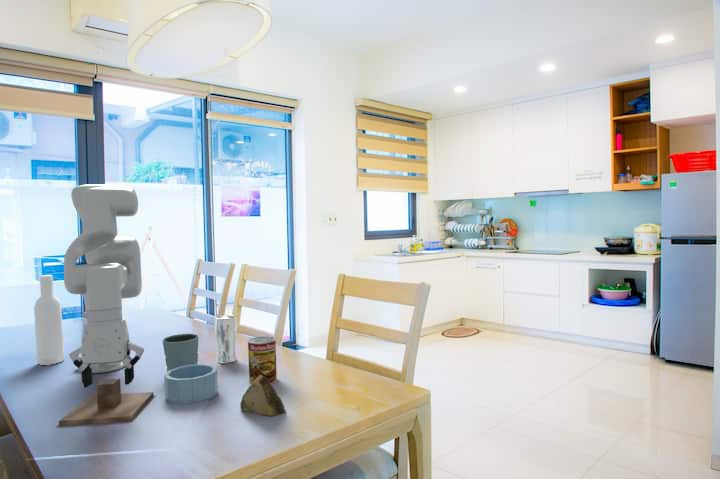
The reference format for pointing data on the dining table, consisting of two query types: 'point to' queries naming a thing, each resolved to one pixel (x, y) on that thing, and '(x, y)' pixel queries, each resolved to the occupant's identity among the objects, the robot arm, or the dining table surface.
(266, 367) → the canned food
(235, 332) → the beer glass
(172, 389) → the bowl
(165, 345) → the drinking glass
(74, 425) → the board
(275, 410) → the rock
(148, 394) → the lid
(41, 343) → the bottle
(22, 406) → the dining table surface
